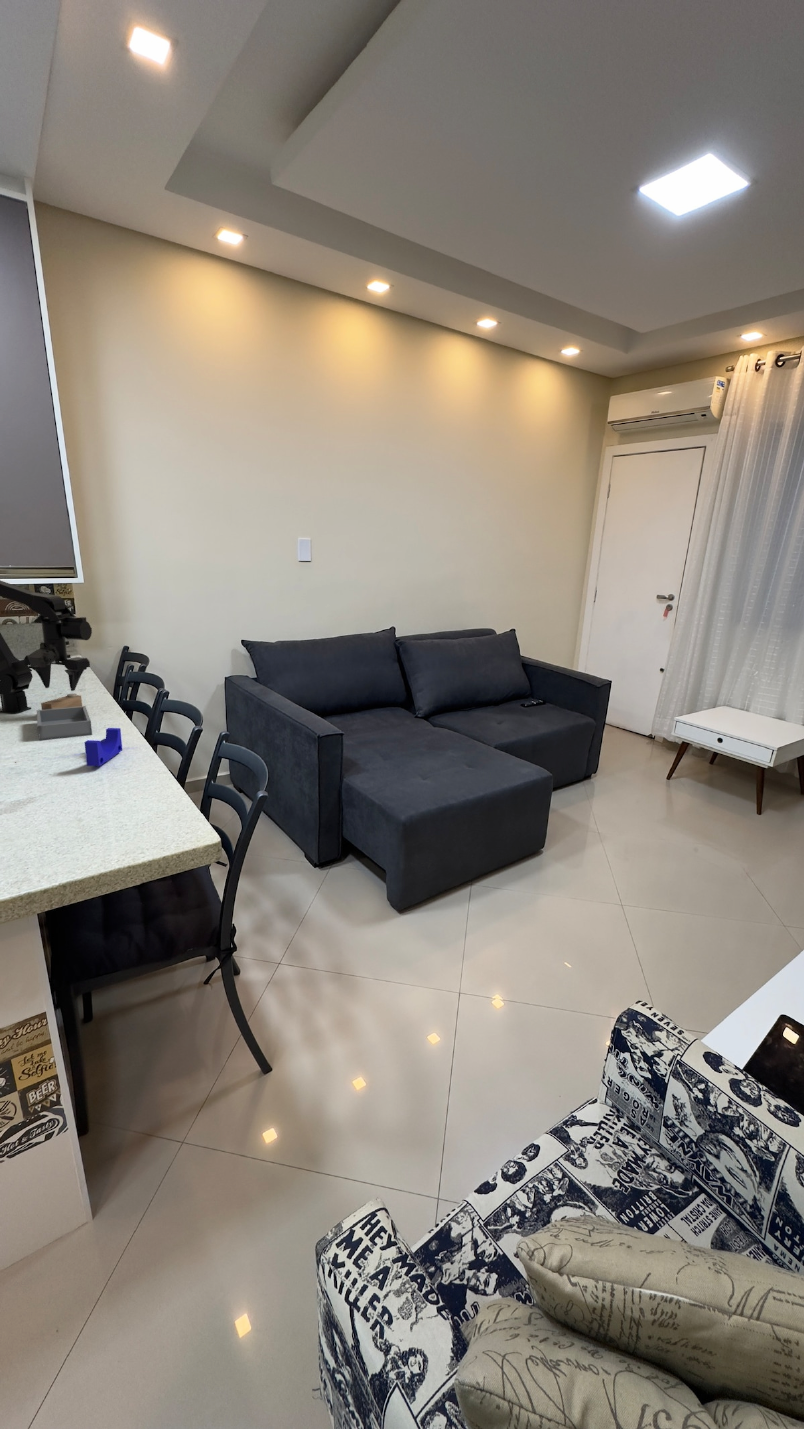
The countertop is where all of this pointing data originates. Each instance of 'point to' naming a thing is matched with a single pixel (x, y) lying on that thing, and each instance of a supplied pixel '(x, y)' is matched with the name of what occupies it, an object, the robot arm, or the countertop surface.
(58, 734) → the bin
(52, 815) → the countertop surface
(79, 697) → the strut
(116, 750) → the cable clip
